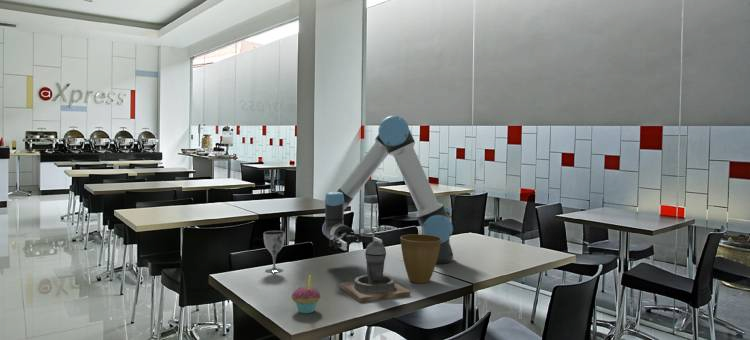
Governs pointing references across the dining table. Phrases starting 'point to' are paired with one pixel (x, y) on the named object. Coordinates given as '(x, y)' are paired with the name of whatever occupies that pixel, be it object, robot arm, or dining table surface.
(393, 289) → the ring holder
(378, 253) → the beverage cup
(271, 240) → the wine glass
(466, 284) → the dining table surface
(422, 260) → the plant pot
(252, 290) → the dining table surface
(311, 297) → the cupcake
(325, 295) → the dining table surface
